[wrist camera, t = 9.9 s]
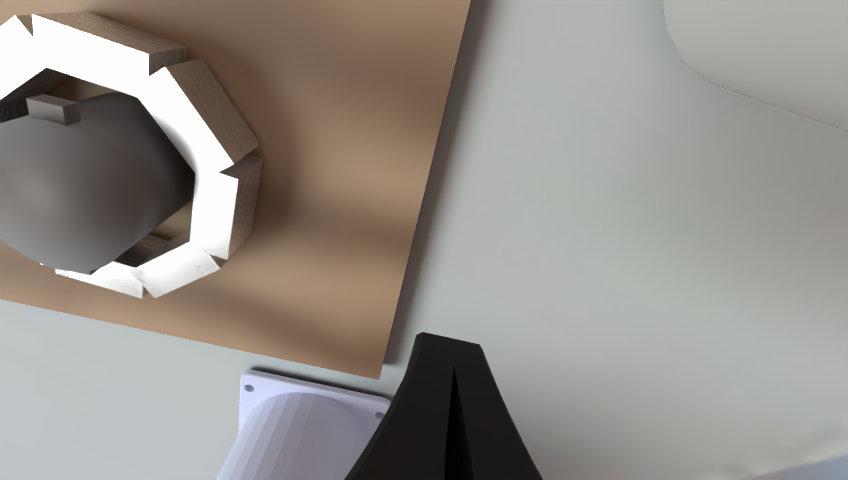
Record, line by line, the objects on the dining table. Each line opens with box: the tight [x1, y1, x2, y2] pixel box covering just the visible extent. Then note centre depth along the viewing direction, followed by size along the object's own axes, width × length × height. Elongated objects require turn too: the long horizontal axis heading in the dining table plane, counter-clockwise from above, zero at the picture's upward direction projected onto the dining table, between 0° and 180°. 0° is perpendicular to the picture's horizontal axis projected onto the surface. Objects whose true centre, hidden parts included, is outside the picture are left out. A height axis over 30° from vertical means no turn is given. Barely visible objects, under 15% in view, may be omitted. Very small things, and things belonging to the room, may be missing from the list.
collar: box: [0, 12, 263, 298], centre depth 16 cm, size 16×9×3 cm, turn 72°
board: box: [0, 0, 471, 380], centre depth 16 cm, size 18×22×6 cm
